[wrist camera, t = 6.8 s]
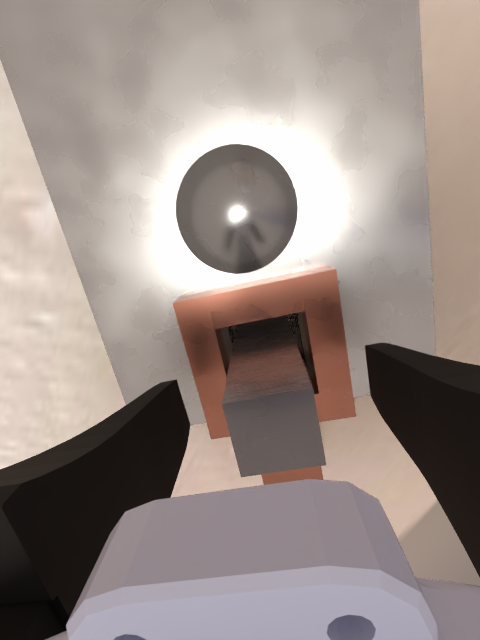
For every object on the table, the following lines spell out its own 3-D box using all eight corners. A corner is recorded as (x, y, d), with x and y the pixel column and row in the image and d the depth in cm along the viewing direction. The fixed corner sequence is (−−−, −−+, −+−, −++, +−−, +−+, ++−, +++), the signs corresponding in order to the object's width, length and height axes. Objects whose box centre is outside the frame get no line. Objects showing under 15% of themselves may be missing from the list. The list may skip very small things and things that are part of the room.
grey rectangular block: (283, 308, 17) (313, 388, 8) (291, 350, 18) (326, 465, 9) (238, 317, 17) (221, 404, 9) (247, 358, 18) (241, 477, 9)
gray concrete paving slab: (380, -83, 12) (438, -227, 8) (417, 435, 19) (459, 487, 15) (23, 32, 14) (-64, -43, 10) (173, 472, 20) (154, 527, 17)
